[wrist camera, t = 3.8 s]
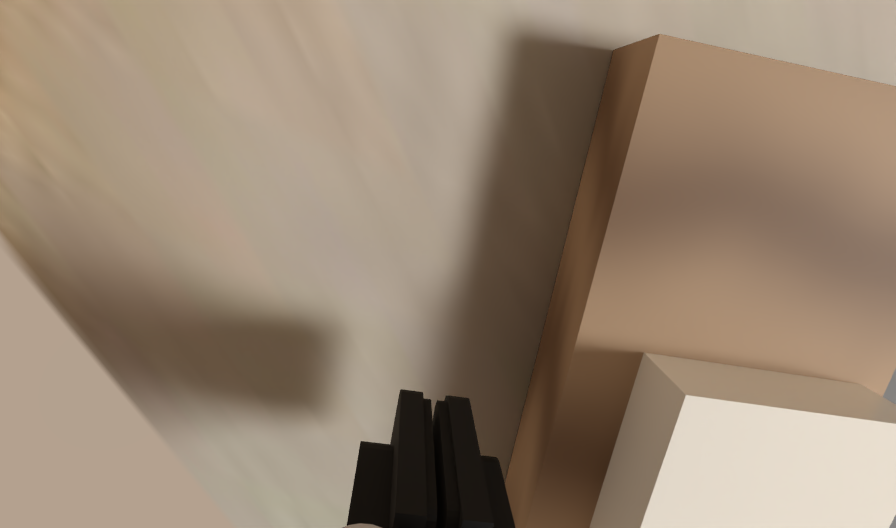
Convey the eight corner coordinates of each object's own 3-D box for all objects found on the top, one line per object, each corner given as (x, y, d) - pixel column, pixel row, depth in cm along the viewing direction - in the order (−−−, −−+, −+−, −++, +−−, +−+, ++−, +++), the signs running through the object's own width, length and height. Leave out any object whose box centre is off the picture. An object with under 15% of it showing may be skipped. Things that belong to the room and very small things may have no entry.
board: (613, 49, 13) (659, 34, 10) (908, 113, 14) (1013, 112, 11) (469, 623, 18) (478, 701, 15) (694, 640, 19) (735, 717, 16)
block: (643, 352, 12) (686, 394, 10) (861, 384, 13) (937, 429, 11) (583, 548, 14) (609, 617, 12) (779, 568, 15) (834, 635, 13)
